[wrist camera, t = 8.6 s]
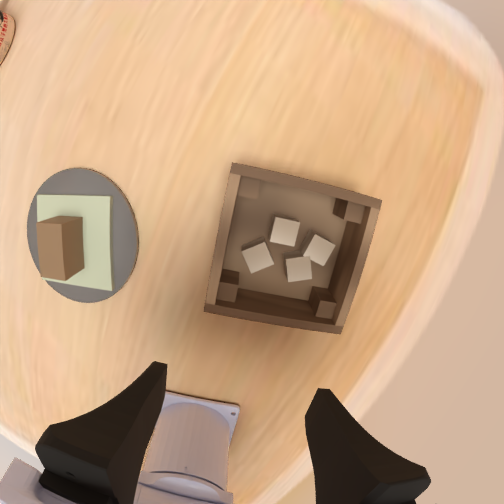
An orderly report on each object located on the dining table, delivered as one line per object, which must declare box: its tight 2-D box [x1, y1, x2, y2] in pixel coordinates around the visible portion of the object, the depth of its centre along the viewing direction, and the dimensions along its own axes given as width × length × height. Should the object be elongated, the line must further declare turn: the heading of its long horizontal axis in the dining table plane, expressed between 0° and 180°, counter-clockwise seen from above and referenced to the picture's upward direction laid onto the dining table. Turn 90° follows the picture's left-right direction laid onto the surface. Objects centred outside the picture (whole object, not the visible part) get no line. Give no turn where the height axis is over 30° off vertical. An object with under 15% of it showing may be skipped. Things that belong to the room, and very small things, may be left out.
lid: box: [36, 194, 115, 291], centre depth 19 cm, size 7×7×4 cm
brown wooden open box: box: [204, 163, 382, 334], centre depth 20 cm, size 9×9×4 cm
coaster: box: [27, 168, 139, 303], centre depth 21 cm, size 11×11×1 cm
